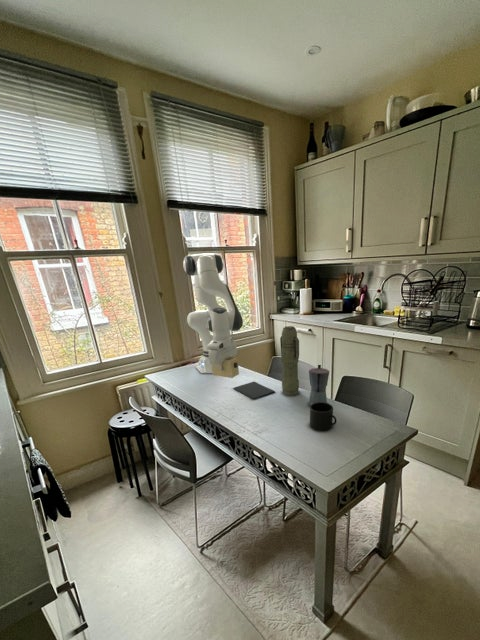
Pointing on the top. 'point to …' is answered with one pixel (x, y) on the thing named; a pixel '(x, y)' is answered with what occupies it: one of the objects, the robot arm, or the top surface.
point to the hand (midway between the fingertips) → (225, 368)
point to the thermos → (290, 360)
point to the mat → (254, 390)
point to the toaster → (227, 368)
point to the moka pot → (318, 384)
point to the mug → (321, 416)
